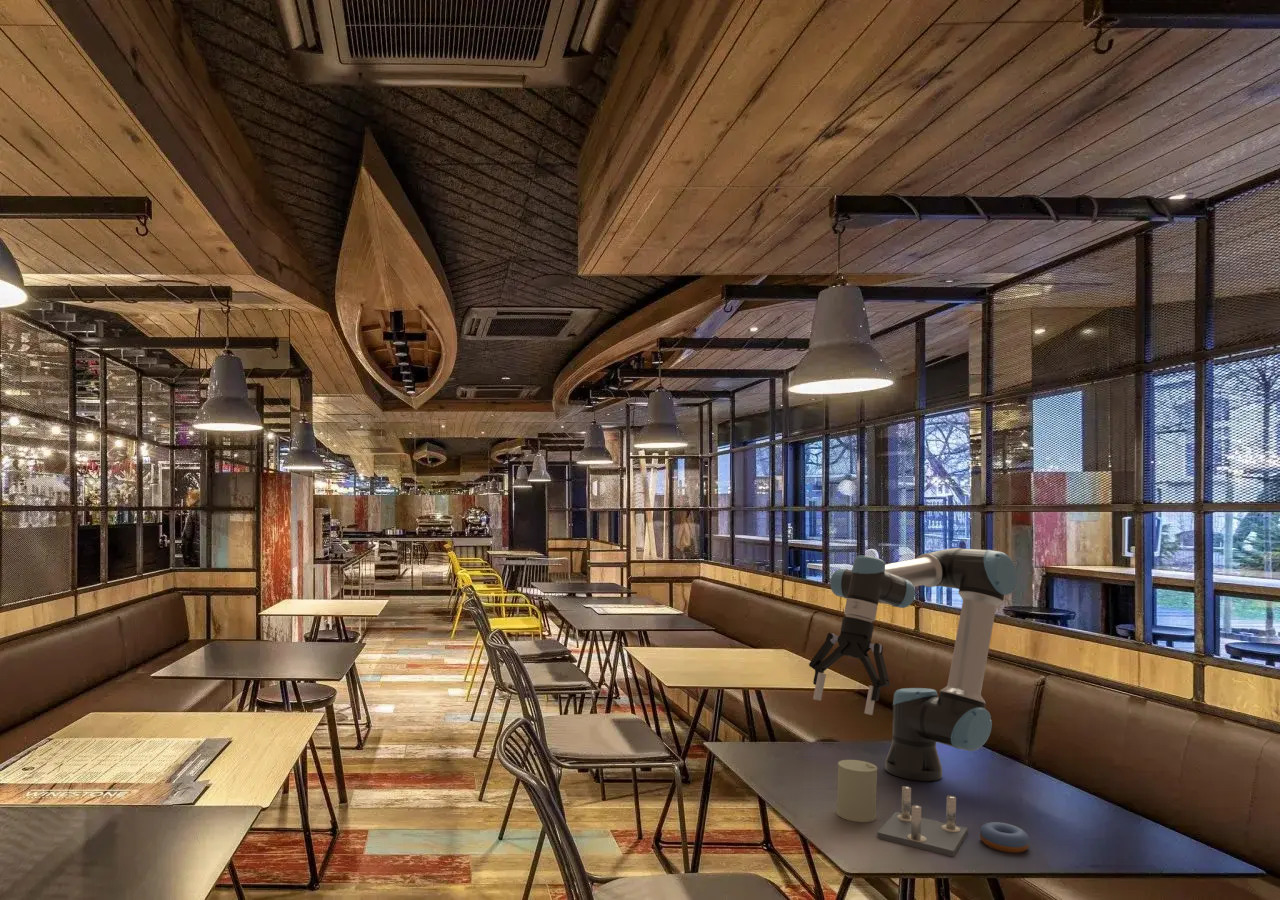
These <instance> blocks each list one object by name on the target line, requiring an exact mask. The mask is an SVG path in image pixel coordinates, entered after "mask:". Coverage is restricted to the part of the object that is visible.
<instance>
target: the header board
mask: <svg viewBox="0 0 1280 900" xmlns="http://www.w3.org/2000/svg"><path fill="white" fill-rule="evenodd" d="M901 814H902V812H899V811H895V812H894V813H893V814H892V816H890V817H889V819H887V821H886V822H885V823H884V824H883V825H882V827H881V828H880V829H879V830H878V831H877V834H876V837H877V838H876V839H879V840H884V841H889V842H892V843H896V844H901V845H905V846H909V847H913V848H916V849H920V850H925V851H928V852H931V853H932V852H933V853H936V854H940V855H945V856H947V857H955V855H956V854H957V852H958V850H959V849H960V847H961V846H962V844H963V842H964V840H965V838H966V836H967V835H968V833H969V832H968V829H969V828H968V827H963V826H960V825H956V829H955V830H951V829H947V828H946V822H942V821H937V820H934V819H929V818H924V817H921V840H920V841H915V840H912V839H911V818H910V819H904V818H902V817H901Z"/></svg>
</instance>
